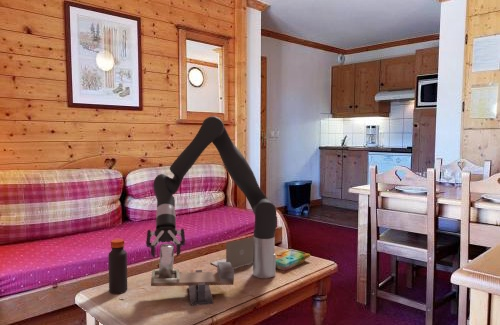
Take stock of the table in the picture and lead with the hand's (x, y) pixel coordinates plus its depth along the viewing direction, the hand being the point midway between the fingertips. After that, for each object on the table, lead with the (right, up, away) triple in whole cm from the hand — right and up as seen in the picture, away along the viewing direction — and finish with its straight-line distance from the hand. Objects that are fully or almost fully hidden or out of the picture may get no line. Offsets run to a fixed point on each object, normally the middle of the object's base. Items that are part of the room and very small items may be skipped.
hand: (165, 255), depth 138 cm
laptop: (+23, -14, +42) cm, 50 cm away
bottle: (-20, -16, +9) cm, 27 cm away
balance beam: (+9, -10, +4) cm, 14 cm away
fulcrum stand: (+12, -16, +5) cm, 21 cm away
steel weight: (-1, -9, +2) cm, 9 cm away
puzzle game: (+49, -15, +42) cm, 66 cm away
